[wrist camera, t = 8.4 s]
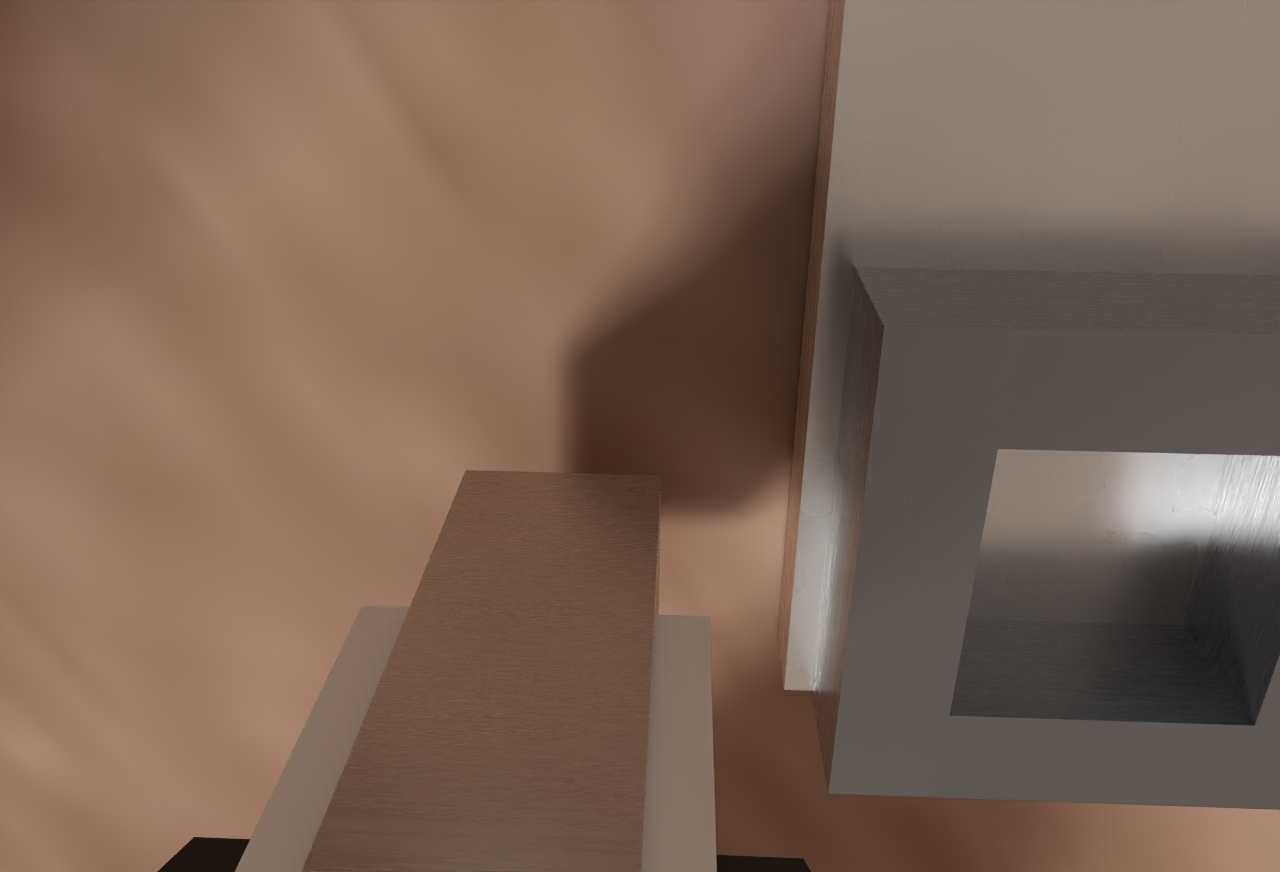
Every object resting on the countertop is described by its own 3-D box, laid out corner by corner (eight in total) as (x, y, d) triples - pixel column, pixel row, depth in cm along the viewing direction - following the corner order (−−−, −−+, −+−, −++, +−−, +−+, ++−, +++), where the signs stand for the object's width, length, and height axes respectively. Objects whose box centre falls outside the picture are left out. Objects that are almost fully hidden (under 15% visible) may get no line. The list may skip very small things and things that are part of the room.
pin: (452, 651, 19) (140, 1608, 8) (433, 442, 17) (-9, 1331, 6) (685, 658, 18) (680, 1643, 8) (692, 448, 17) (698, 1372, 6)
